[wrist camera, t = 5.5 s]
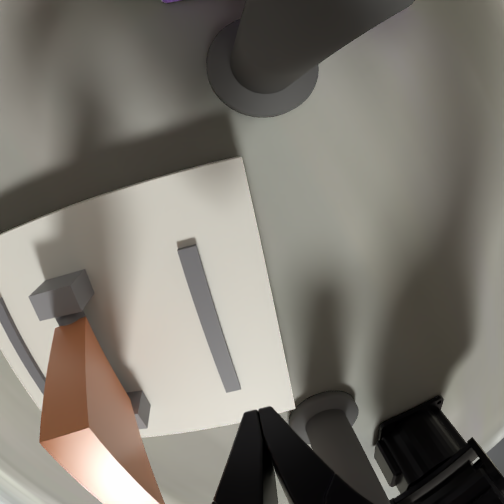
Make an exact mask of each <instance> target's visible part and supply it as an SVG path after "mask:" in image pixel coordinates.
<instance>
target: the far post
mask: <svg viewBox="0 0 504 504" xmlns="http://www.w3.org/2000/svg"><path fill="white" fill-rule="evenodd" d="M357 416H358V407H357V405H356V403H355V401H354V400H353V398H352V397H351V396H350V395H349V394H348V393H345V392H342V391H328V392H323V393H320V394H317V395H314V396H312V397H310V398H308V399H306V400H305V401H303V402H302V403H301V404H299V405H298V406H297V407H296V409H294V411H293V412H292V414H291V416H290V418H289V426H290V427H291V428H292V429H293V430H294V431H295V432H296V433H297V434H298V435H299V436H300V437H301V438H302V440H303V441H304V442H305V443H306V444H311V447H312V449H313V451H314V452H315V453H316V454H317V455H318V456H319V457H320V458H321V459H322V460H323V461H324V462H325V463H326V464H327V465H328V466H329V467H330V468H331V469H332V470H333V471H334V472H335V474H338V475H339V476H340V477H341V478H342V479H343V480H344V481H345V482H346V483H347V484H349V485H350V486H351V487H352V488H353V489H354V490H356V491H357V492H358V493H360V494H361V495H362V496H364V497H365V498H367V499H368V500H370V501H371V502H373V503H374V504H391V503H390V501H389V499H388V498H387V496H386V494H385V492H384V490H383V488H382V486H381V484H380V482H379V480H378V478H377V476H376V474H375V472H374V470H373V468H372V466H371V464H370V462H369V460H368V458H367V456H366V454H365V452H364V450H363V448H362V446H361V444H360V442H359V440H358V438H357V436H356V434H355V432H354V430H353V428H352V425H353V424H354V422H355V421H356V419H357Z"/></svg>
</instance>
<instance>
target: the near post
mask: <svg viewBox="0 0 504 504" xmlns="http://www.w3.org/2000/svg"><path fill="white" fill-rule="evenodd" d="M414 1H415V0H246V4H245V7H244V10H243V14H242V17H241V19H240V20H237V21H235V22H233V23H231V24H229V25H228V26H226V27H225V28H224V29H223V30H221V31H220V32H219V34H218V35H217V36H216V37H215V39H214V40H213V42H212V44H211V46H210V49H209V52H208V57H207V74H208V79H209V82H210V85H211V87H212V89H213V91H214V92H215V94H216V95H217V96H218V98H219V99H220V100H221V101H222V102H223V103H224V104H226V105H227V106H228V107H230V108H231V109H233V110H235V111H237V112H239V113H241V114H244V115H248V116H252V117H274V116H278V115H281V114H284V113H286V112H288V111H291V110H292V109H294V108H296V107H298V106H299V105H300V104H302V103H303V102H304V101H305V100H306V99H307V98H308V97H309V95H310V94H311V93H312V91H313V89H314V87H315V85H316V82H317V78H318V64H319V63H320V62H322V61H323V60H325V59H326V58H328V57H329V56H330V55H332V54H333V53H335V52H336V51H338V50H339V49H341V48H342V47H344V46H345V45H347V44H348V43H350V42H351V41H353V40H354V39H356V38H357V37H359V36H360V35H362V34H364V33H365V32H367V31H368V30H370V29H372V28H373V27H375V26H376V25H378V24H380V23H381V22H383V21H385V20H386V19H388V18H390V17H391V16H393V15H395V14H397V13H398V12H400V11H402V10H404V9H405V8H407V7H408V6H410V5H411V4H412V3H413V2H414Z"/></svg>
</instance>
